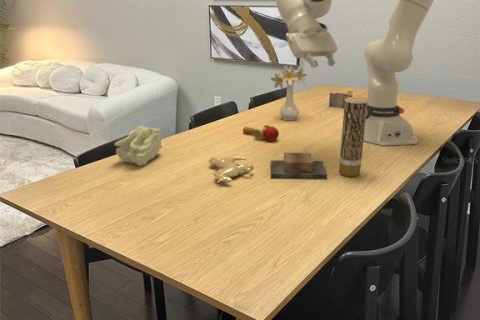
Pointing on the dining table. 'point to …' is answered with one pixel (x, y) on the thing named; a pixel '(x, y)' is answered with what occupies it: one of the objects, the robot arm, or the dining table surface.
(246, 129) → the kendama
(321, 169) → the plinth
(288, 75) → the flower vase
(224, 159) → the unicorn
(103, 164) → the dining table surface
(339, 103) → the ruin model on sheet
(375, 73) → the robot arm
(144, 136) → the folded clay sculpture
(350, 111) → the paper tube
